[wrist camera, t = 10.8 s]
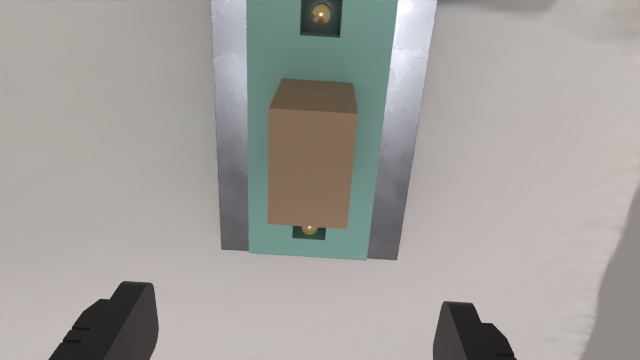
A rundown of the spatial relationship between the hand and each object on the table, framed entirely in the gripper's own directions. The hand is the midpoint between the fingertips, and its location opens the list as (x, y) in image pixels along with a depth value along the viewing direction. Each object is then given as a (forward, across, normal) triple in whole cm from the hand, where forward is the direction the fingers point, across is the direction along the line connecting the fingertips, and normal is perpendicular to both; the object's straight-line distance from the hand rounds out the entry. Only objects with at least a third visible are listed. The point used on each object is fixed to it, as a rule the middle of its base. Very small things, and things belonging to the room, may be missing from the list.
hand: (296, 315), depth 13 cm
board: (+17, 0, 0) cm, 17 cm away
